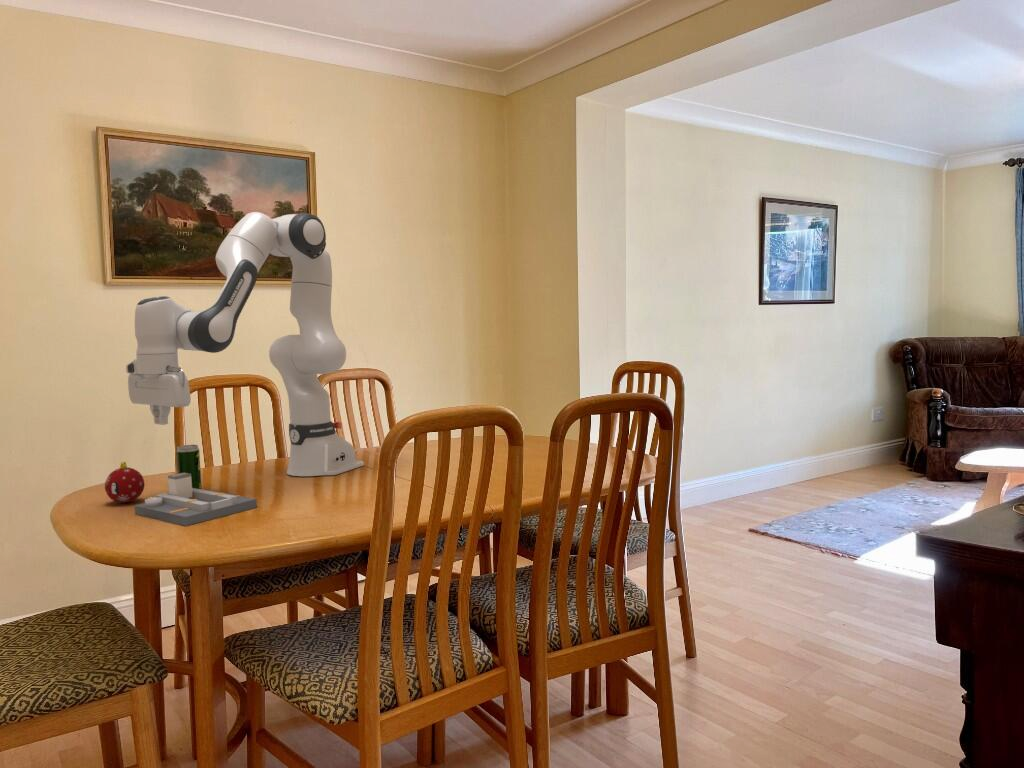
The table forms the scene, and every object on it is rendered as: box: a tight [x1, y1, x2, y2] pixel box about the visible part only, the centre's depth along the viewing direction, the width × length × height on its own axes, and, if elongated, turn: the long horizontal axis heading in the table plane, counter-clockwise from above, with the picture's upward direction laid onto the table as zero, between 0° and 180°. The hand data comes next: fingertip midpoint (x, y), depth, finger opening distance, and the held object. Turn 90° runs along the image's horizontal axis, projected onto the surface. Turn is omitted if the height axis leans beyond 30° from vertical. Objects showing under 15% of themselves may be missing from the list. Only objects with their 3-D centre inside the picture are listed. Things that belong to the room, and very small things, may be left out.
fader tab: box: [167, 473, 193, 498], centre depth 178 cm, size 4×3×6 cm
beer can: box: [176, 444, 203, 490], centre depth 193 cm, size 5×5×12 cm
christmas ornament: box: [104, 461, 145, 504], centre depth 185 cm, size 9×9×10 cm
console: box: [134, 488, 258, 527], centre depth 175 cm, size 18×20×4 cm
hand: (161, 424), depth 180 cm, fingers closed
